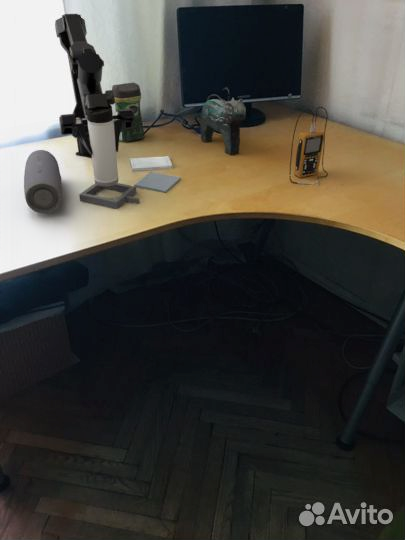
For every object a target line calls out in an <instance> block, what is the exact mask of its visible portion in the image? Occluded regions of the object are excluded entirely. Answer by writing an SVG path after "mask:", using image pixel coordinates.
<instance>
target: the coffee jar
mask: <svg viewBox="0 0 405 540" xmlns="http://www.w3.org/2000/svg"><path fill="white" fill-rule="evenodd" d="M111 90H113V93H114V97H115V103H114V106H115V107H114V109H115V115H117V113H118V110H122V109H132V110H133V111H134V114H135V121H134V125H133V127H132V128H128V129H125V130H124V131H123V132H120V137H119V142H125V143H130V142H134V141H139V140H142V139H144V137H145V131H144V124H143V119H142V112H141V99H142V93H141V88H140V85H139V84H138V83H136V82H128V83H127V82H125V83H121V84H120V83H119V84H113V85H112V87H111Z"/></svg>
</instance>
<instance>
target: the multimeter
mask: <svg viewBox="0 0 405 540" xmlns="http://www.w3.org/2000/svg"><path fill="white" fill-rule="evenodd" d="M319 109H323V110H324V111H325V114H326V117H325V118H326V121H325V125H324V131H322V130H320V129H316V128H317V127H316V124H317V123H316V122H317V117H318V110H319ZM305 111H306V112H307V111H308V112H311V114H312V120H311V125H310V130H309V131H303V132H300V133H299V134H298V135H299V136H298V142H297V148H296V157H295V164H294V165H295V166H294V171H293V174H294V176H296V177H297V178H300V179H302V178H305V177H310V176H316V175H318V173H319V170H320V169H319V168H320V164H321V165H322V170H323V171H324V172H325V173H326V175H324V176H323V175H322V176H321V178H325V177H328V172H327V171H326V170H325V169H324V155H325V145H326V144H325V139H326V138H325V137H326V129H327V124H328V123H327V122H328V112H327V109H326V108H325V107H323V106H318V107H317V108H316V112H315V115H314V112H313V111H312V110H311V109H304V110H303V111H301V112H300V114H299V116H297V120H296V123H295V126H294V129H293V134H292V135H293V136H292V142H291V148H290V149H291V151H290V161H289V162H290V163H289V174H291V173H292V171H291V170H292V168H291V167H292V156H293V148H294V147H293V146H294V138H295V133H296V130H297V129H296V128H297V125H298V122H299V119H300V117H301V115H302V114H303V113H304V112H305ZM314 117H315V118H314ZM314 119H315V120H314ZM313 125H314V126H313ZM321 159H322V161H321ZM319 178H320V176H317V177H316V183H315V185H316V187H318V185H319ZM289 181H290V182H291V183H293V184H299V185H313V183H311V182H310V183H309V182H303V181H302V182H300V181H297V182H295V181H292V179H291V177H289Z"/></svg>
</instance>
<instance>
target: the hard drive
mask: <svg viewBox="0 0 405 540" xmlns="http://www.w3.org/2000/svg"><path fill="white" fill-rule="evenodd" d="M171 161H172V160H170V157H169V156H167V155H166V156H154V157H153V156H152V157H151V156H150V157H138V158H137V157H136V158H135V157H134V158H129V163H130V168H131V171H132V172H142V171H155V170H156V171H157V170H167V169H170V170H171V169H173V168H174V167H173V163H172V162H171Z"/></svg>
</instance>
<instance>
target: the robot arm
mask: <svg viewBox="0 0 405 540" xmlns="http://www.w3.org/2000/svg"><path fill="white" fill-rule="evenodd" d="M85 20H86V19H84V18H83V17H82V15H81V14H79V13H65V14H62V16H60V18H58V19H55V21H54V26H55V28H54V29H55V34H56V38H58V39H59V43H60V46H61V48H62V49H63V50H64V52H65V53H67V58H68V64H69V71H70V77H71V83H72V88H73V95H74V100H75V106H74V108H73V111H72V113H69V114H68V113H67V114H60V115H59V118H58V119H59V120H58V121H59V129H60V134H61V135H63V136H66V135H72V137H73V138H74V139H76V144H77V149H78V151H77V152H75V155H76V156H80V157H81V156H82V157H88V158H92V149H91V145H90V138H89V129H88V121H87V117H88V116H87V110H86V109H87V107H88V109H91V108H99V107H107V108H108V104H110V105H111V106H112V105H115V97H114V93H113V90H112V89H109V90H105V91H104V93H103V89H102V83H101V82H102V78H103V67H105V62H104V60H103V59H102V58H101V56H100V55H99V54H98V53H97V52H96V50H95V46H93V45H92V44H91V43H88V40H87V38H86V36H87V33H88V32H87V25H86V21H85ZM112 116H113V122H114V133H115V145H116V153H119V147H120V140H119V137H120V132H123V131H124V130H125V129H128V128H132V127H133V125H134V121H135V114H134V111H133V110H132V109H122V110H118V113H117V115H116V114H115V115H112Z"/></svg>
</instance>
